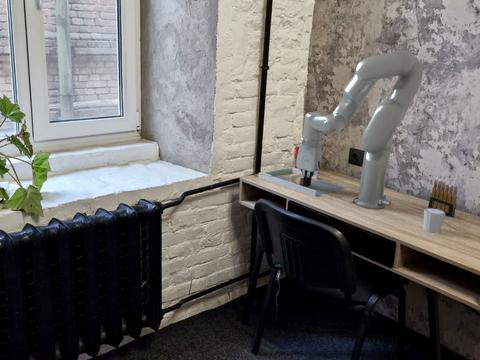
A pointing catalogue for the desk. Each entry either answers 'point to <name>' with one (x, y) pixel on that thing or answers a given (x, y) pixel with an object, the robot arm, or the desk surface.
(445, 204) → the ammunition clip
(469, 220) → the desk surface
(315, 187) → the box
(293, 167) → the beverage can
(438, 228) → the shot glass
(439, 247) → the desk surface
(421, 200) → the desk surface
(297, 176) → the wooden block
